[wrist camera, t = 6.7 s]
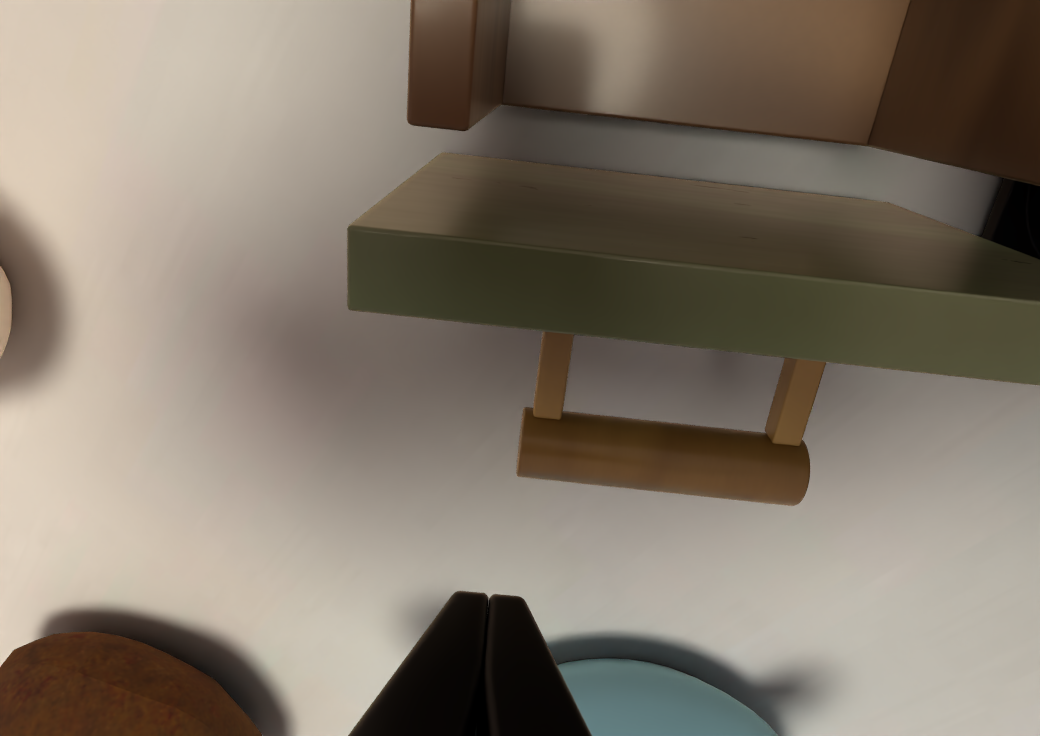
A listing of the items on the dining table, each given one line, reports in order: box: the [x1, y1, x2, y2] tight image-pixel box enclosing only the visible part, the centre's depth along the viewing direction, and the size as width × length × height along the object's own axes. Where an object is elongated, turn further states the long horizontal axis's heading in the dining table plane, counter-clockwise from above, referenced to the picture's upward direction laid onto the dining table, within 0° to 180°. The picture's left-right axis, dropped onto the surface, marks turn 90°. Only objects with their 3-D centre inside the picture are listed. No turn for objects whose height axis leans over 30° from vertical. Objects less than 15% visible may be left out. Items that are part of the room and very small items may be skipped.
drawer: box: [347, 0, 1040, 506], centre depth 12 cm, size 18×11×9 cm, turn 174°
